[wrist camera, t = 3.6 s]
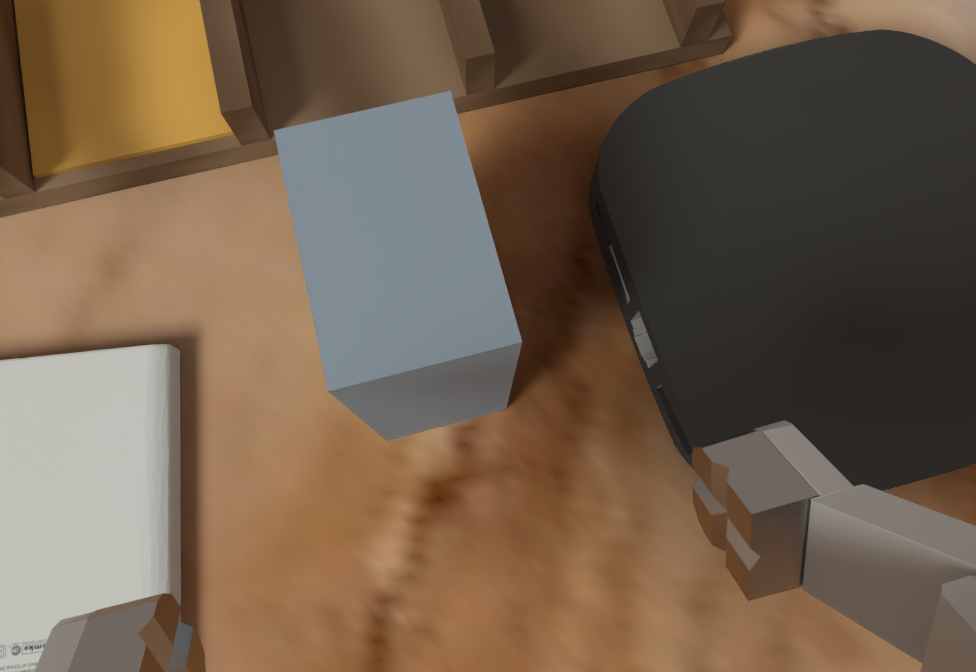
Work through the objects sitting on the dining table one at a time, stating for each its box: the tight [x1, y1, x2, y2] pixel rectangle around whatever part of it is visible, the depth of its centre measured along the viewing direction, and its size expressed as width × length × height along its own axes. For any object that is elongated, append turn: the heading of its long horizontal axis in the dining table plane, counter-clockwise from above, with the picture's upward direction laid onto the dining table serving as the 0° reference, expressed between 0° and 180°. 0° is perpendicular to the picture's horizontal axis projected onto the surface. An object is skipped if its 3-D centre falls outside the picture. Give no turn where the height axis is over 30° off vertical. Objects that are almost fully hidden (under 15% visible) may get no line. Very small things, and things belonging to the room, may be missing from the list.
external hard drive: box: [0, 344, 181, 672], centre depth 21 cm, size 2×8×12 cm
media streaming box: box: [589, 30, 976, 491], centre depth 23 cm, size 15×15×3 cm
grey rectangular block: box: [274, 91, 522, 441], centre depth 19 cm, size 4×6×9 cm, turn 15°
